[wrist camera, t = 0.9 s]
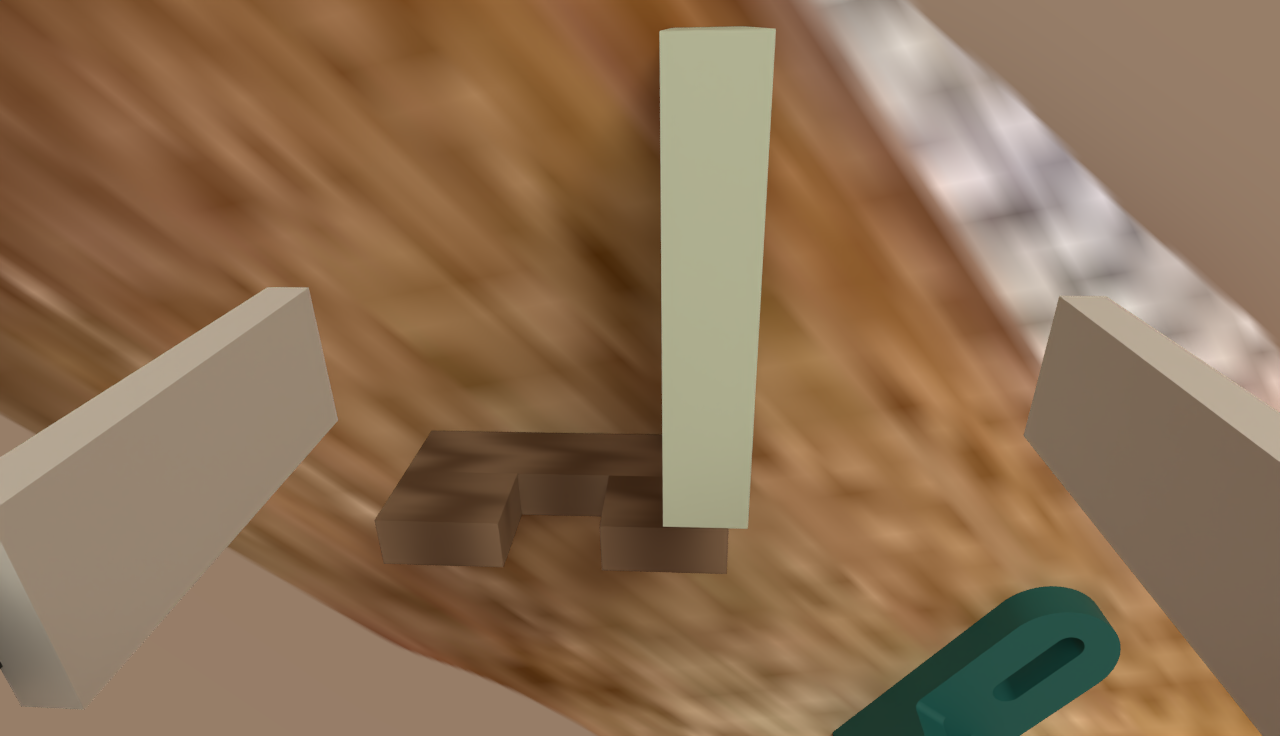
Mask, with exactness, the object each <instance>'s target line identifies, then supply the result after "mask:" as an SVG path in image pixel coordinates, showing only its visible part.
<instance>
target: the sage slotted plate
mask: <svg viewBox="0 0 1280 736" xmlns="http://www.w3.org/2000/svg"><path fill="white" fill-rule="evenodd" d="M775 33H776V29H771V28H757V27H744V26H743V27H694V28H670V29H666V30H662V31H660V163H661V311H662V460H663V527H700V528H740V529H748V516H749V498H750V480H751V462H752V444H753V426H754V409H755V391H756V373H757V355H758V337H759V319H760V301H761V283H762V265H763V248H764V230H765V212H766V194H767V176H768V158H769V140H770V122H771V104H772V86H773V69H774V51H775Z"/></svg>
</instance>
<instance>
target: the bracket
mask: <svg viewBox="0 0 1280 736" xmlns="http://www.w3.org/2000/svg"><path fill="white" fill-rule="evenodd" d="M1119 656H1120V641H1119V638H1118V636H1117V634H1116V632H1115V631H1114V629H1113V628H1112V626H1111V625H1110V623H1109V622H1108V621H1107V619H1106V618H1105V616H1104V615H1103V613H1102V612H1101V611H1100V609H1099V608H1098V606H1097V605H1096V604H1095V602H1094V601H1093V600H1092V599H1091V598H1089V597H1088V596H1086V595H1085V594H1083V593H1081V592H1079V591H1076V590H1073V589H1070V588H1065V587H1053V586H1050V587H1039V588H1034V589H1030V590H1026V591H1023V592H1020V593H1018V594H1016V595H1014V596H1012V597H1010V598H1008V599H1007V600H1005V601H1004V602H1002V603H1001V604H1000V605H998V606H997V607H996V608H994V609H993V610H992V611H990V612H989V613H988V614H987V615H985V616H984V617H983V618H981V619H980V620H979V621H977V622H976V623H975V624H974V625H972V626H971V627H970V628H968V629H967V630H966V631H964V632H963V633H962V634H960V635H959V636H958V637H957V638H955V639H954V640H953V641H951V642H950V643H949V644H947V645H946V646H945V647H943V648H942V649H941V650H940V651H938V652H937V653H936V654H934V655H933V656H932V657H930V658H929V659H928V660H927V661H925V662H924V663H923V664H921V665H920V666H919V667H917V668H916V669H915V670H913V671H912V672H911V673H910V674H908V675H907V676H906V677H904V678H903V679H902V680H900V681H899V682H898V683H896V684H895V685H894V686H893V687H891V688H890V689H889V690H887V691H886V692H885V693H883V694H882V695H881V696H880V697H878V698H877V699H876V700H874V701H873V702H872V703H870V704H869V705H868V706H866V707H865V708H864V709H863V710H861V711H860V712H859V713H857V714H856V715H855V716H853V717H852V718H851V719H849V720H848V721H847V722H846V723H844V724H843V725H842V726H840V727H839V728H838V729H836V730H835V731H834V732H833V736H1020V735H1021V734H1023V733H1024V732H1026V731H1027V730H1029V729H1030V728H1032V727H1033V726H1035V725H1036V724H1038V723H1039V722H1041V721H1042V720H1044V719H1045V718H1047V717H1048V716H1050V715H1051V714H1053V713H1054V712H1056V711H1057V710H1059V709H1060V708H1062V707H1063V706H1065V705H1066V704H1068V703H1069V702H1071V701H1072V700H1074V699H1075V698H1077V697H1078V696H1080V695H1081V694H1083V693H1084V692H1086V691H1087V690H1089V689H1090V688H1092V687H1093V686H1095V685H1096V684H1098V683H1099V682H1101V681H1102V680H1103V679H1104V678H1106V677H1107V676H1108V675H1109V674H1110V672H1111V671H1112V670H1113V669H1114V667H1115V665H1116V664H1117V661H1118V659H1119Z"/></svg>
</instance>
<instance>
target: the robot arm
mask: <svg viewBox="0 0 1280 736" xmlns="http://www.w3.org/2000/svg"><path fill="white" fill-rule="evenodd" d="M337 421H338V418H337V413H336V409H335V404H334V400H333V395H332V391H331V386H330V382H329V377H328V373H327V368H326V364H325V359H324V355H323V350H322V346H321V341H320V337H319V332H318V328H317V323H316V319H315V314H314V310H313V305H312V301H311V296H310V292H309V288H290V287H267V288H266V289H264V290H263V291H261V292H259V293H258V294H256V295H255V296H253V297H252V298H250V299H248V300H247V301H245V302H244V303H242V304H241V305H239V306H237V307H236V308H234V309H233V310H231V311H230V312H228V313H226V314H225V315H223V316H222V317H220V318H219V319H217V320H215V321H214V322H212V323H211V324H209V325H208V326H206V327H204V328H203V329H201V330H200V331H198V332H197V333H195V334H193V335H192V336H190V337H189V338H187V339H186V340H184V341H182V342H181V343H179V344H178V345H176V346H175V347H173V348H171V349H170V350H168V351H167V352H165V353H164V354H162V355H160V356H159V357H157V358H156V359H154V360H153V361H151V362H149V363H148V364H146V365H145V366H143V367H142V368H140V369H138V370H137V371H135V372H134V373H132V374H131V375H129V376H127V377H126V378H124V379H123V380H121V381H120V382H118V383H116V384H115V385H113V386H112V387H110V388H108V389H107V390H105V391H104V392H102V393H101V394H99V395H97V396H96V397H94V398H93V399H91V400H90V401H88V402H86V403H85V404H83V405H82V406H80V407H79V408H77V409H75V410H74V411H72V412H71V413H69V414H68V415H66V416H64V417H63V418H61V419H60V420H58V421H57V422H55V423H53V424H52V425H50V426H49V427H47V428H46V429H44V430H42V431H41V432H39V433H38V434H36V435H35V436H33V437H32V438H30V439H28V440H27V441H25V442H24V443H22V444H21V445H19V446H17V447H16V448H14V449H13V450H11V451H10V452H8V453H6V454H5V455H3V456H2V457H0V669H1V670H2V672H3V674H4V676H5V678H6V679H7V681H8V683H9V685H10V687H11V688H12V690H13V692H14V694H15V696H16V698H17V699H18V701H19V703H20V704H21V706H25V707H46V708H65V709H85V708H86V707H87V706H88V705H89V704H90V703H91V701H92V700H93V699H94V698H95V697H96V696H97V695H98V693H99V692H100V691H101V690H102V689H103V687H105V685H106V684H107V683H108V682H109V680H111V678H112V677H113V676H114V675H115V674H116V673H117V672H118V670H119V669H120V668H121V667H122V666H123V665H124V664H125V663H126V661H127V660H128V659H129V658H130V657H131V656H132V655H133V653H134V652H135V651H136V650H137V649H138V648H139V647H140V646H141V644H142V643H143V642H144V641H145V639H147V637H148V636H149V635H150V634H151V633H152V632H153V631H154V630H155V628H156V627H157V626H158V625H159V624H160V623H161V622H162V620H163V619H164V618H165V617H166V616H167V615H168V614H169V612H170V611H171V610H172V609H173V608H174V607H175V606H176V604H177V603H178V602H179V601H180V600H181V599H182V598H183V596H184V595H185V594H186V593H187V592H188V591H189V590H190V588H191V587H192V586H193V585H194V584H195V583H196V582H197V581H198V579H199V578H200V577H201V576H202V575H203V574H204V573H205V571H206V570H207V569H208V568H209V567H210V566H211V565H212V563H213V562H214V561H215V560H216V559H217V558H218V557H219V555H220V554H221V553H222V552H223V551H224V550H225V549H226V547H227V546H228V545H229V544H230V543H231V542H232V541H233V539H234V538H235V537H236V536H237V535H238V534H239V533H240V531H241V530H242V529H243V528H244V527H245V526H246V525H247V524H248V522H249V521H250V520H251V519H252V518H253V517H254V516H255V514H256V513H257V512H258V511H259V510H260V509H261V508H262V506H263V505H264V504H265V503H266V502H267V501H268V500H269V498H270V497H271V496H272V495H273V494H274V493H275V492H276V490H277V489H278V488H279V487H280V486H281V485H282V484H283V482H284V481H285V480H286V479H287V478H288V477H289V476H290V474H291V473H292V472H293V471H294V470H295V469H296V468H297V467H298V465H299V464H300V463H301V462H302V461H303V460H304V459H305V457H306V456H307V455H308V454H309V453H310V452H311V451H312V449H313V448H314V447H315V446H316V445H317V444H318V443H319V441H320V440H321V439H322V438H323V437H324V436H325V435H326V433H327V432H328V431H329V430H330V429H331V428H332V427H333V425H334V424H335V423H336V422H337ZM1024 437H1025V438H1026V439H1027V441H1028V442H1029V443H1030V444H1031V446H1032V447H1033V448H1034V449H1035V451H1036V452H1037V453H1038V454H1039V456H1040V457H1041V458H1042V459H1043V461H1044V462H1045V463H1046V464H1047V466H1048V467H1049V468H1050V469H1051V471H1052V472H1053V473H1054V474H1055V476H1056V477H1057V478H1058V479H1059V481H1060V482H1061V483H1062V484H1063V486H1064V487H1065V488H1066V489H1067V491H1068V492H1069V493H1070V495H1071V496H1072V497H1073V498H1074V500H1075V501H1076V502H1077V503H1078V505H1079V506H1080V507H1081V508H1082V510H1083V511H1084V512H1085V513H1086V515H1087V516H1088V517H1089V518H1090V520H1091V521H1092V522H1093V523H1094V525H1095V526H1096V527H1097V528H1098V530H1099V531H1100V532H1101V533H1102V535H1103V536H1104V537H1105V538H1106V540H1107V541H1108V542H1109V543H1110V545H1111V546H1112V547H1113V548H1114V550H1115V551H1116V552H1117V554H1118V555H1119V556H1120V557H1121V559H1122V560H1123V561H1124V562H1125V564H1126V565H1127V566H1128V567H1129V569H1130V570H1131V571H1132V572H1133V574H1134V575H1135V576H1136V577H1137V579H1138V580H1139V581H1140V582H1141V584H1142V585H1143V586H1144V587H1145V589H1146V590H1147V591H1148V592H1149V594H1150V595H1151V596H1152V597H1153V599H1154V600H1155V601H1156V602H1157V604H1158V605H1159V606H1160V607H1161V609H1162V610H1163V611H1164V612H1165V614H1166V615H1167V616H1168V618H1169V619H1170V620H1171V621H1172V623H1173V624H1174V625H1175V626H1176V628H1177V629H1178V630H1179V631H1180V633H1181V634H1182V635H1183V636H1184V638H1185V639H1186V640H1187V641H1188V643H1189V644H1190V645H1191V646H1192V648H1193V649H1194V650H1195V651H1196V653H1197V654H1198V655H1199V656H1200V658H1201V659H1202V660H1203V661H1204V663H1205V664H1206V665H1207V666H1208V668H1209V669H1210V670H1211V671H1212V673H1213V674H1214V675H1215V676H1216V678H1217V679H1218V680H1219V682H1220V683H1221V684H1222V685H1223V687H1224V688H1225V689H1226V690H1227V692H1228V693H1229V694H1230V695H1231V697H1232V698H1233V699H1234V700H1235V702H1236V703H1237V704H1238V705H1239V707H1240V708H1241V709H1242V710H1243V712H1244V713H1245V714H1246V715H1247V717H1248V718H1249V719H1250V720H1251V722H1252V723H1253V724H1254V725H1255V727H1256V728H1257V729H1258V730H1259V732H1260V733H1261V734H1262V735H1263V736H1280V412H1278V411H1277V410H1275V409H1274V408H1272V407H1271V406H1269V405H1268V404H1266V403H1265V402H1263V401H1262V400H1260V399H1259V398H1257V397H1256V396H1254V395H1253V394H1251V393H1250V392H1248V391H1247V390H1245V389H1244V388H1242V387H1241V386H1239V385H1238V384H1236V383H1235V382H1233V381H1232V380H1230V379H1229V378H1227V377H1226V376H1224V375H1223V374H1221V373H1220V372H1218V371H1217V370H1215V369H1214V368H1212V367H1211V366H1209V365H1208V364H1206V363H1205V362H1203V361H1202V360H1200V359H1199V358H1197V357H1196V356H1195V355H1193V354H1192V353H1190V352H1189V351H1187V350H1186V349H1184V348H1183V347H1181V346H1180V345H1178V344H1177V343H1175V342H1174V341H1172V340H1171V339H1169V338H1168V337H1166V336H1165V335H1163V334H1162V333H1160V332H1159V331H1157V330H1156V329H1154V328H1153V327H1151V326H1150V325H1148V324H1147V323H1145V322H1144V321H1142V320H1141V319H1139V318H1138V317H1136V316H1135V315H1133V314H1132V313H1130V312H1129V311H1127V310H1126V309H1124V308H1123V307H1121V306H1120V305H1118V304H1117V303H1115V302H1114V301H1112V300H1111V299H1109V298H1108V297H1106V296H1059V300H1058V304H1057V308H1056V311H1055V315H1054V319H1053V323H1052V327H1051V331H1050V335H1049V339H1048V343H1047V347H1046V350H1045V354H1044V358H1043V362H1042V366H1041V370H1040V374H1039V378H1038V382H1037V386H1036V389H1035V393H1034V397H1033V401H1032V405H1031V409H1030V413H1029V417H1028V421H1027V425H1026V429H1025V432H1024Z"/></svg>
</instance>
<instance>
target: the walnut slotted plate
mask: <svg viewBox="0 0 1280 736" xmlns="http://www.w3.org/2000/svg"><path fill="white" fill-rule="evenodd" d="M522 514H526V515H565V516H601V522H600V543H601V562H602V570H612V571H644V572H677V573H710V574H727V553H728V528H700V527H663V460H662V435H640V434H583V433H526V432H469V431H431V433H430V434H429V436H428V438H427V439H426V441H425V442H424V444H423V445H422V447H421V448H420V450H419V452H418V453H417V455H416V456H415V458H414V459H413V461H412V463H411V464H410V466H409V467H408V469H407V470H406V472H405V473H404V475H403V477H402V478H401V480H400V481H399V483H398V484H397V486H396V488H395V489H394V491H393V492H392V494H391V495H390V497H389V498H388V500H387V502H386V503H385V505H384V506H383V508H382V509H381V511H380V513H379V514H378V516H377V517H376V519H375V525H376V530H377V534H378V539H379V543H380V548H381V552H382V557H383V562H384V564H414V565H447V566H480V567H504V564H505V561H506V558H507V556H508V553H509V550H510V547H511V544H512V541H513V538H514V536H515V533H516V530H517V527H518V524H519V521H520V518H521V515H522Z"/></svg>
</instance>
